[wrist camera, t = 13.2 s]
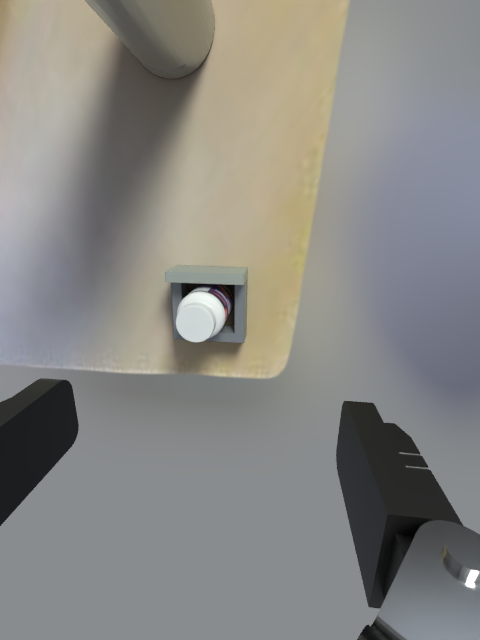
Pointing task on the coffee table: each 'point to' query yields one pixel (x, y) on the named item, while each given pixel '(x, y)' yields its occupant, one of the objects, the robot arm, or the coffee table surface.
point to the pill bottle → (203, 312)
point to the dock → (212, 275)
